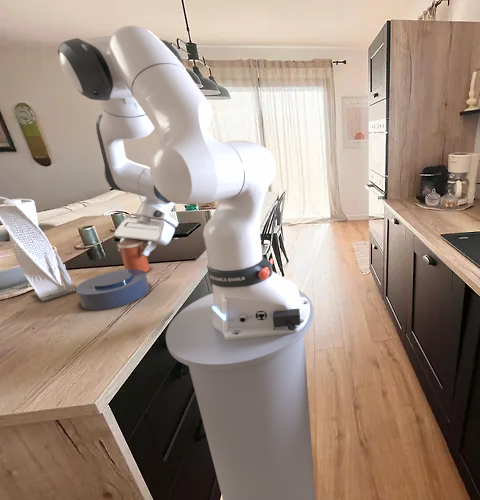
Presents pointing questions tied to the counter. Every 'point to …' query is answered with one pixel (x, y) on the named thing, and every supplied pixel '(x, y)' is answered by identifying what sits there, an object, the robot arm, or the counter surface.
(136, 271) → the blue round puck
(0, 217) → the skyscraper
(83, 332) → the counter surface
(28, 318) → the counter surface
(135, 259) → the terracotta cup
